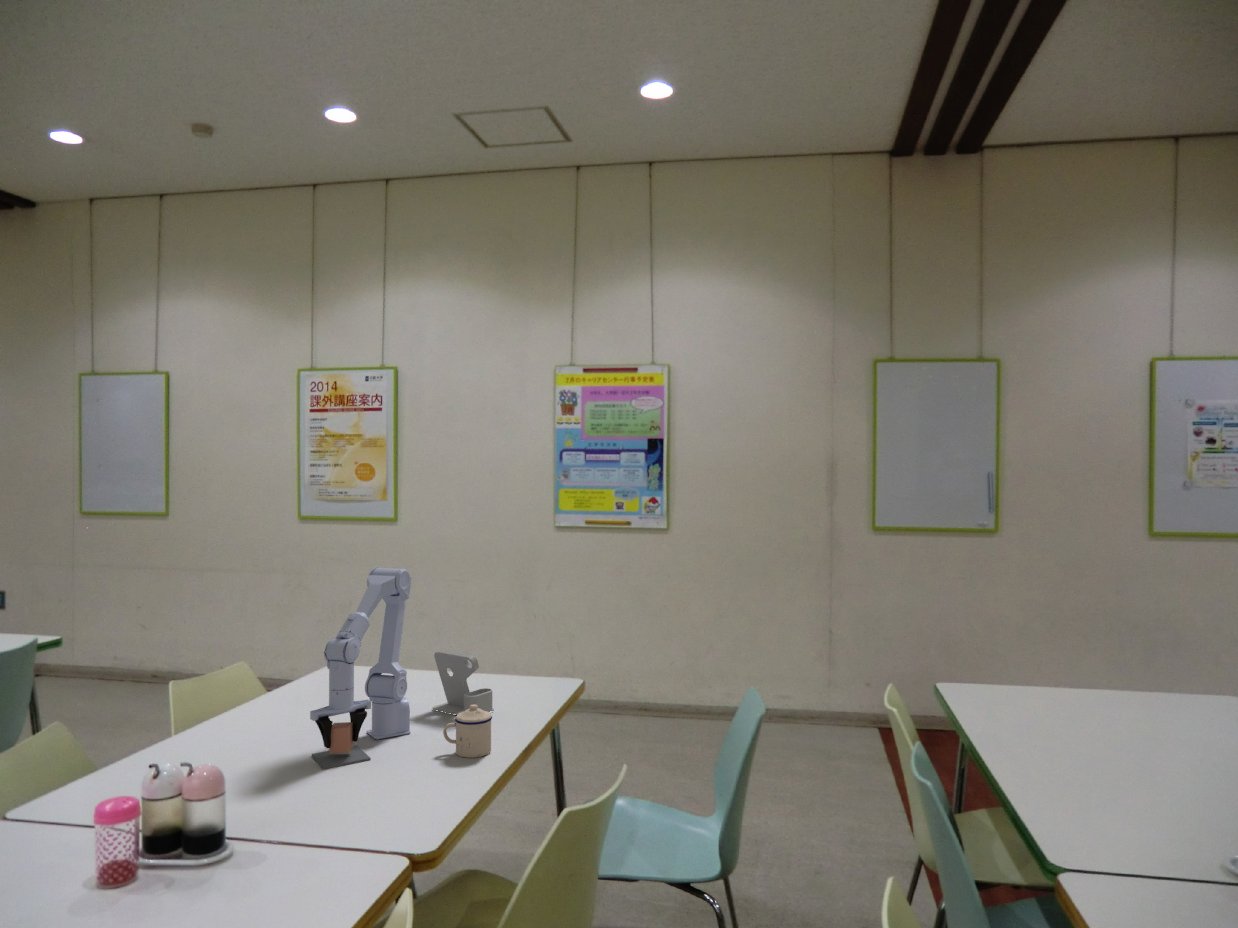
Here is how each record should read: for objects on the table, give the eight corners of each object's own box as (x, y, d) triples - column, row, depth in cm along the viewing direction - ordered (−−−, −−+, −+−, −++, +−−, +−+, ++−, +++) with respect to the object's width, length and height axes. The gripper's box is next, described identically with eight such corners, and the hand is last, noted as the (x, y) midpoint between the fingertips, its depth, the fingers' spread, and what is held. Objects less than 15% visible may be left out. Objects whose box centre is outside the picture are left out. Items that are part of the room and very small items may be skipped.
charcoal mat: (357, 747, 198) (357, 745, 198) (370, 759, 189) (370, 757, 189) (311, 755, 192) (311, 753, 192) (323, 769, 183) (323, 767, 183)
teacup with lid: (493, 745, 199) (494, 699, 200) (489, 758, 190) (490, 710, 190) (446, 746, 199) (446, 700, 199) (440, 759, 190) (440, 710, 190)
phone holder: (496, 711, 229) (497, 649, 230) (471, 720, 221) (472, 656, 222) (455, 702, 239) (455, 643, 240) (429, 710, 231) (430, 648, 231)
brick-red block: (352, 746, 193) (352, 721, 193) (348, 752, 188) (348, 727, 189) (333, 747, 192) (334, 722, 193) (329, 753, 188) (329, 728, 188)
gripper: (362, 679, 199) (361, 733, 198) (305, 689, 189) (304, 746, 188) (375, 684, 194) (374, 739, 193) (317, 695, 184) (316, 753, 183)
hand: (341, 743), depth 191 cm, fingers closed on brick-red block, 6 cm apart
